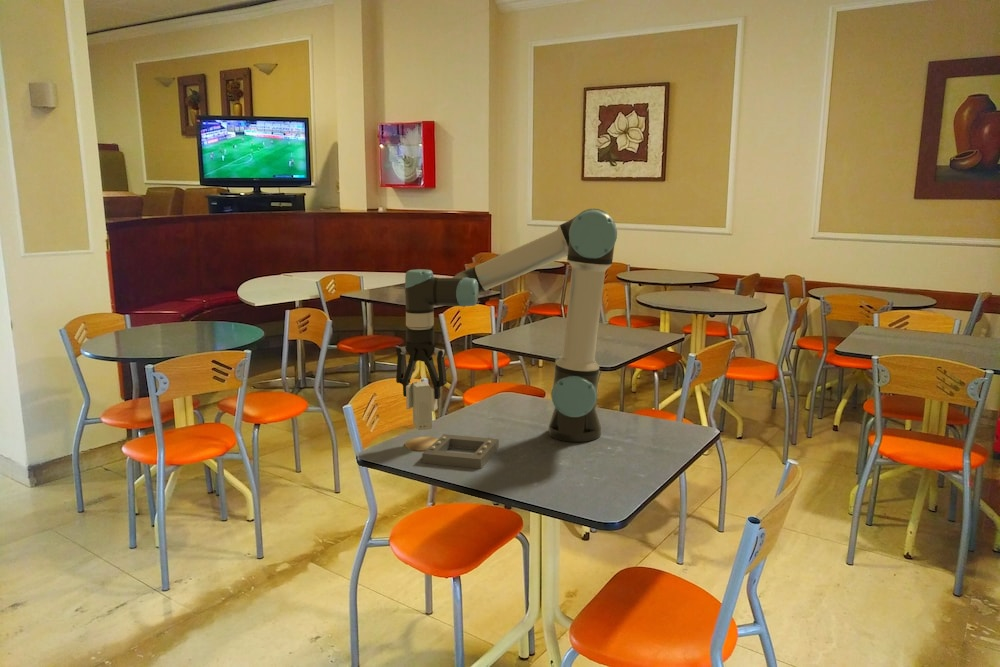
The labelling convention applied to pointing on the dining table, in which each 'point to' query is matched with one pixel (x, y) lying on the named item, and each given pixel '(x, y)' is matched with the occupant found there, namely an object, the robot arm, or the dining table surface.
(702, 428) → the dining table surface
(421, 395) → the skincare box
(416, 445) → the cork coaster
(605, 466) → the dining table surface
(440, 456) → the studded square frame
